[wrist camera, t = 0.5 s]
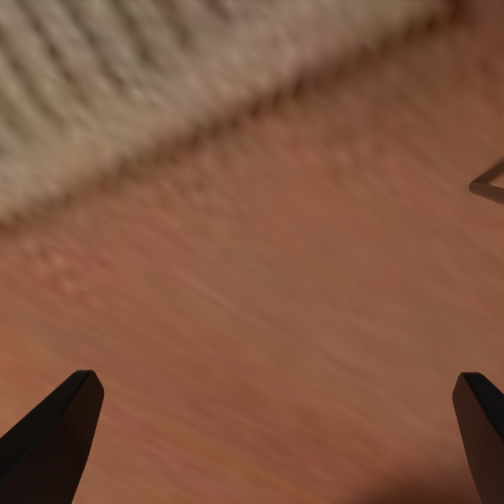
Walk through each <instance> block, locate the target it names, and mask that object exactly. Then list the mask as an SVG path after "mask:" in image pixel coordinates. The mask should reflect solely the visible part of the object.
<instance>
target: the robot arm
mask: <svg viewBox="0 0 504 504" xmlns="http://www.w3.org/2000/svg"><path fill="white" fill-rule="evenodd" d="M103 399H104V388H103V386H102V384H101V382H100V380H99V379H98V377H97V375H96V373H95V372H94V371H93V370H78V371H76V372H74V373H73V374H72V375H71V376H70V377H68V378H67V379H66V380H65V381H64V382H63V383H62V384H61V385H59V386H58V387H57V388H56V389H55V390H54V391H53V392H52V393H50V394H49V395H48V396H47V397H46V398H45V399H44V400H43V401H41V402H40V403H39V404H38V405H37V406H36V407H35V408H34V409H32V410H31V411H30V412H29V413H28V414H27V415H26V416H25V417H23V418H22V419H21V420H20V421H19V422H18V423H17V424H16V425H14V426H13V427H12V428H11V429H10V430H9V431H8V432H7V433H5V434H4V435H3V436H2V437H1V438H0V504H71V503H72V501H73V498H74V495H75V492H76V490H77V487H78V484H79V481H80V479H81V476H82V473H83V470H84V468H85V465H86V462H87V459H88V456H89V453H90V449H91V446H92V442H93V438H94V434H95V430H96V426H97V422H98V418H99V414H100V411H101V407H102V403H103ZM452 399H453V405H454V409H455V413H456V416H457V420H458V424H459V428H460V432H461V436H462V440H463V444H464V448H465V452H466V456H467V460H468V463H469V467H470V471H471V474H472V477H473V479H474V482H475V485H476V488H477V491H478V493H479V496H480V499H481V501H482V504H504V394H503V393H502V392H501V391H500V390H499V389H498V388H497V387H496V386H495V385H493V384H492V383H491V382H490V381H489V380H488V379H487V378H486V377H485V376H484V375H482V374H481V373H478V372H462V373H461V374H459V376H458V379H457V382H456V385H455V388H454V390H453V395H452Z"/></svg>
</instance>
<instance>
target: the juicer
mask: <svg viewBox="0 0 504 504" xmlns="http://www.w3.org/2000/svg"><path fill="white" fill-rule="evenodd" d="M469 190H470V192H471V193H473V194H476V195H479V196H481V197H484V198H486V199H489V200H492V201H494V202H497V203H499V204H502V205H504V188H500V187H496V186H492V185H488V184H484V183H480V182H473V183H471V184H470V186H469Z"/></svg>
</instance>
